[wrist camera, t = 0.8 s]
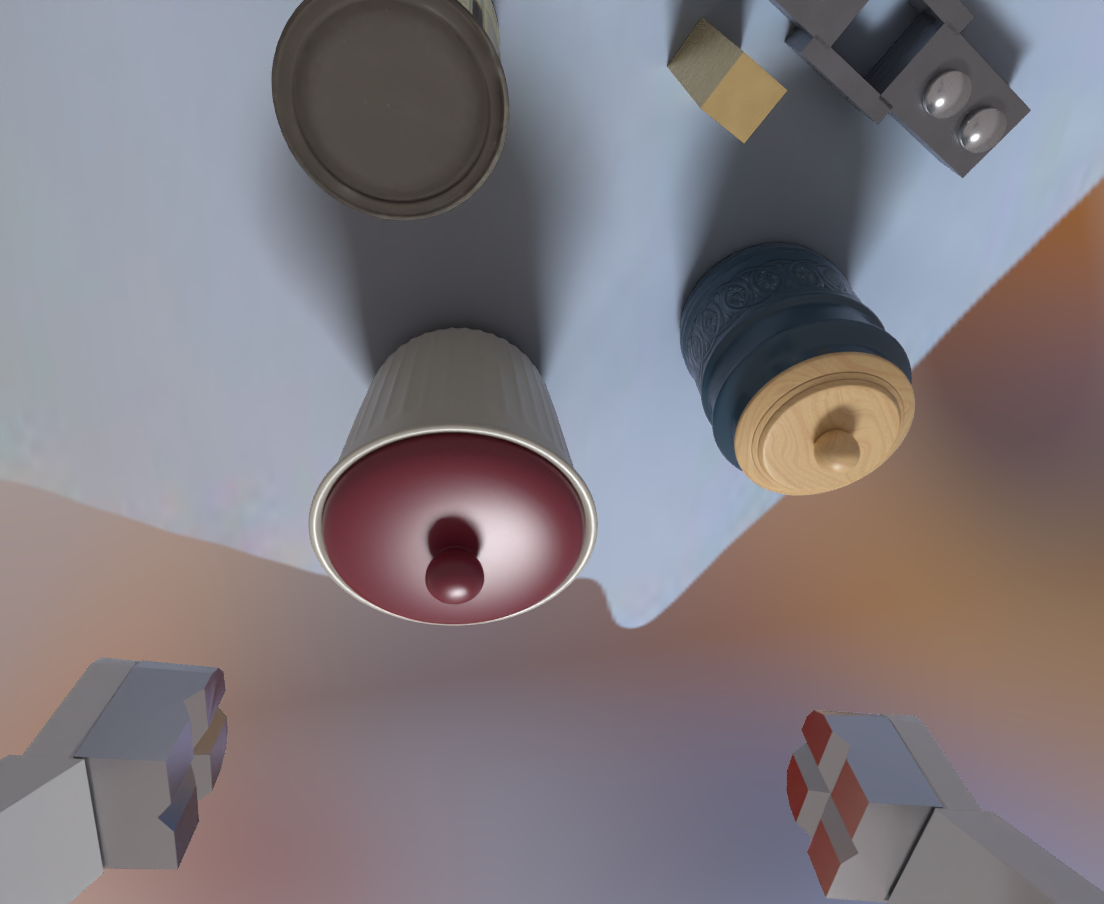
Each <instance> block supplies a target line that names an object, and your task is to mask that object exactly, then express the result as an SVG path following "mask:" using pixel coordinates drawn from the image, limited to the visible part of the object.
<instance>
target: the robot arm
mask: <svg viewBox="0 0 1104 904" xmlns="http://www.w3.org/2000/svg"><path fill="white" fill-rule="evenodd" d="M225 691H226V690H225V680H224V672H223V671H222V670H221V669H220V668H215V667H204V666H194V665H183V664H173V663H162V662H152V661H141V662H140V661H131V660H121V659H112V658H100V659H99V660H97V661H95V662H94V663H92V664H91V665H90V666H89V667H88V668H87V670H86V671H85V673H84V674H83V675H82V676H81V678H80V679H79V680H78V682H77V683H76V684H75V686H74V687H73V688H72V690H71V691H70V692H69V694H68V695H67V696H66V698H65V699H64V700H63V702H62V703H61V704H60V706H59V707H58V708H57V710H56V711H55V712H54V714H53V715H52V716H51V718H50V719H49V720H48V722H47V723H46V725H45V726H44V727H43V728H42V730H41V731H40V732H39V734H38V735H37V736H36V738H35V739H34V740H33V742H32V743H31V744H30V746H29V747H28V748H27V750H26V751H25V752H24V754H23V755H8V756H6V757H4V758H3V759H1V760H0V904H69V903H70V902H71V901H72V900H73V899H74V898H75V897H77V896H78V895H79V894H80V893H81V892H82V891H83V890H85V889H86V888H87V887H88V886H89V885H90V884H91V883H93V882H94V881H95V880H96V879H97V878H98V877H99V876H100V875H102V874H103V868H117V869H119V868H120V869H178V868H179V866H180V863H181V861H182V859H183V856H184V854H185V852H186V849H187V847H188V845H189V843H190V841H191V838H192V836H193V833H194V831H195V829H196V827H197V825H198V822H199V815H198V801H199V800H200V799H202V798H203V797H204V796H206V795H207V794H208V793H210V792H211V791H212V790H213V788H214V785H215V783H216V780H217V777H218V775H219V773H220V770H221V766H222V762H223V758H224V754H225V750H226V744H227V733H228V726H227V716H226V715H225V714H224V713H223V712H222V710H221V709H220V708H219V707H218V706H219V704H220V702H221V699H222V697H223V695H224V693H225ZM802 733H803V735H804V737H805V739H806V742H807V743H805V744H804V745H803V746H801V747H800V748H799V749H798V750H796V751H795V752H794V753H793V754H792V757H791V760H790V763H789V766H788V769H787V795H788V800H789V805H790V808H791V811H792V814H793V816H794V819H795V822H796V823H797V824H798V825H799V826H800V827H801V828H802V829H803V830H804V831H806V832H807V833H808V834H809V835H810V836H811V837H812V840H811V843H810V846H809V849H808V851H807V852H808V855H809V857H810V860H811V862H812V865H813V867H814V869H815V872H816V875H817V877H818V880H819V882H820V885H821V887H822V890H823V892H824V894H825V897H826V898H835V899H847V900H860V901H875V902H887V904H1104V892H1103V891H1102V890H1100V889H1099V888H1098V887H1096V886H1095V885H1094V884H1092V883H1090V882H1089V881H1088V880H1086V879H1085V878H1084V877H1083V876H1081V875H1079V874H1078V873H1077V872H1076V871H1074V870H1073V869H1072V868H1070V867H1069V866H1067V865H1066V864H1065V863H1063V862H1062V861H1060V860H1059V859H1057V858H1056V857H1055V856H1054V855H1052V854H1051V853H1049V852H1048V851H1047V850H1045V849H1044V848H1042V847H1041V846H1040V845H1038V844H1037V843H1036V842H1034V841H1033V840H1031V839H1030V838H1029V837H1027V836H1026V835H1025V834H1023V833H1022V832H1020V831H1019V830H1018V829H1016V828H1015V827H1014V826H1012V825H1011V824H1009V823H1008V822H1007V821H1005V820H1004V819H1003V818H1001V817H1000V816H998V815H997V814H996V813H994V812H987V811H982V809H981V808H980V806H979V805H978V803H977V802H976V800H975V799H974V797H973V796H972V794H971V793H970V791H969V790H968V788H967V787H966V785H965V784H964V783H963V781H962V779H961V778H960V776H959V775H958V773H957V772H956V770H955V769H954V767H953V766H952V764H951V763H950V761H949V760H948V758H947V757H946V755H945V754H944V752H943V751H942V749H941V748H940V747H939V745H938V743H937V742H936V740H935V739H934V737H933V736H932V734H931V733H930V731H929V730H928V728H927V727H926V726H925V724H924V723H923V722H922V721H921V720H920V719H918V718H917V717H915V716H909V715H892V714H880V715H877V714H868V713H853V712H837V711H821V710H813V711H812V712H811V713H810V714H809V715H808V716H807V717H806V720H805V723H804V725H803V727H802Z"/></svg>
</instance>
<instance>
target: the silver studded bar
mask: <svg viewBox="0 0 1104 904" xmlns="http://www.w3.org/2000/svg"><path fill="white" fill-rule="evenodd" d="M769 1H770V2H771V3H772V4H773V5H774V6H775V7H776V8H778V9H779V10H780V11H781V12H782V13H783V14H784V15H785V16H786V17H787V18H788V19H789V20H790V21H791V22H792V23H793V24H795V25H796V26H797V27H796V28H795V29H794V31H793V32H792V33H791V34H790V36H789V37H788V38H787V39H786V41H785V43H786V44H787V45H788V46H790V47H791V48H792V49H793V50H794V51H795V52H796V53H797V54H798V55H799V56H800V57H802V58H803V59H804V60H805V61H806V62H807V63H808V64H809V65H810V66H811V67H812V68H813V69H815V70H816V71H817V72H818V73H819V74H820V75H821V76H822V77H823V78H824V79H825V80H827V81H828V82H829V83H830V84H831V85H832V86H833V87H834V88H835V89H836V90H837V91H838V92H840V93H841V94H842V95H843V96H844V97H845V98H846V99H847V100H848V101H849V102H850V103H852V104H853V105H854V106H855V107H856V108H857V109H858V110H859V111H861V112H862V113H863V114H865V115H866V116H867V117H869V118H870V119H872V120H873V121H874V122H876V123H877V124H878V123H879V122H880V121H881V120H882V119H883V118H884V117H885V116H886V114H887V113H889V114H890V115H891V116H892V117H893V118H894V119H895V120H896V121H898V122H899V123H900V124H901V125H902V126H903V127H904V128H905V129H906V130H907V131H908V132H909V133H910V134H911V135H912V136H913V137H915V138H916V139H917V140H918V141H919V142H920V143H921V144H922V145H923V146H924V147H925V148H926V149H927V150H928V151H929V152H930V153H932V154H933V155H934V156H935V157H936V158H937V159H938V160H939V161H940V162H941V163H943V164H944V165H945V166H947V167H948V168H950V169H951V170H952V171H954V172H955V173H957V174H958V175H959V176H961V177H962V178H963V177H964V176H965V175H966V174H967V173H968V172H969V171H970V170H971V169H972V168H973V167H974V166H975V165H976V164H977V163H978V162H979V161H980V160H981V159H982V158H983V157H984V156H985V155H986V154H987V153H988V152H989V151H990V150H991V149H992V148H993V147H995V146H996V145H997V144H998V143H999V142H1000V141H1001V140H1002V139H1003V138H1004V137H1005V136H1006V135H1007V134H1008V133H1009V132H1010V131H1011V130H1012V129H1013V128H1014V127H1015V126H1016V125H1017V124H1018V123H1019V122H1020V121H1021V120H1022V119H1023V118H1024V117H1025V116H1026V115H1027V114H1028V113H1029V112H1030V111H1031V110H1030V109H1029V108H1028V106H1027V105H1026V104H1025V103H1024V102H1023V101H1022V100H1021V99H1020V98H1019V97H1018V96H1017V95H1016V94H1015V92H1014V91H1013V90H1012V89H1011V88H1010V87H1009V86H1008V85H1007V84H1006V83H1005V82H1004V81H1003V79H1002V78H1001V77H1000V76H999V75H998V74H997V73H996V72H995V71H994V70H993V69H992V68H991V66H990V65H989V64H988V63H987V62H986V61H985V60H984V59H983V58H982V57H981V56H980V55H979V53H978V52H977V51H976V50H975V49H974V48H973V47H972V46H971V45H970V44H969V43H968V42H967V40H966V39H965V38H964V37H963V36H962V35H961V34H960V33H961V31H962V30H963V29H964V28H965V27H966V26H967V25H968V24H969V23H970V21H971V20H972V19H973V18H974V16H973V15H972V13H971V12H970V11H969V10H968V9H967V8H966V7H965V6H964V5H963V3H962V2H961V1H960V0H909V2H910V3H911V4H912V5H913V6H914V7H915V8H916V9H917V10H918V11H919V12H920V15H919V16H918V17H917V18H916V19H915V20H914V22H913V23H912V24H911V25H910V26H909V27H908V29H907V30H906V31H905V32H904V33H903V34H902V35H901V37H900V38H899V39H898V40H897V41H896V42H895V44H894V45H893V46H892V47H891V48H890V49H889V51H888V52H887V53H886V54H885V55H884V56H883V57H882V59H881V60H880V61H879V62H878V63H877V64H876V66H875V67H874V68H873V69H872V70H871V71H870V73H869V74H868V75H867V76H866V77H865V78H864V79H863V78H862V77H861V76H860V75H859V74H858V73H857V72H856V71H855V70H854V69H853V68H852V67H851V66H850V65H849V64H848V63H847V62H846V61H845V60H844V59H842V58H841V57H840V56H839V55H838V54H837V53H836V52H835V51H834V50H833V49H832V48H831V46H832V45H833V43H834V42H835V41H836V40H837V38H838V37H839V36H840V35H841V34H842V32H843V31H844V30H845V29H846V27H847V26H848V25H849V24H850V23H851V21H852V20H853V19H854V18H855V16H856V15H857V14H858V13H859V12H860V10H861V9H862V8H863V7H864V5H865V4H866V3H867V2H868V1H869V0H769Z"/></svg>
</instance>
